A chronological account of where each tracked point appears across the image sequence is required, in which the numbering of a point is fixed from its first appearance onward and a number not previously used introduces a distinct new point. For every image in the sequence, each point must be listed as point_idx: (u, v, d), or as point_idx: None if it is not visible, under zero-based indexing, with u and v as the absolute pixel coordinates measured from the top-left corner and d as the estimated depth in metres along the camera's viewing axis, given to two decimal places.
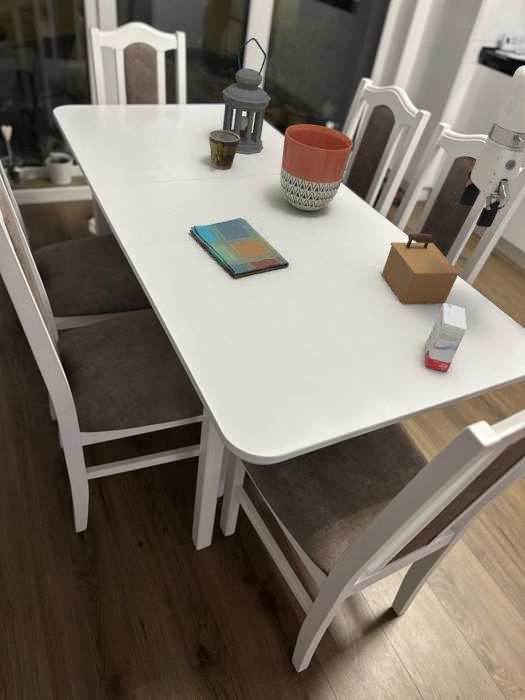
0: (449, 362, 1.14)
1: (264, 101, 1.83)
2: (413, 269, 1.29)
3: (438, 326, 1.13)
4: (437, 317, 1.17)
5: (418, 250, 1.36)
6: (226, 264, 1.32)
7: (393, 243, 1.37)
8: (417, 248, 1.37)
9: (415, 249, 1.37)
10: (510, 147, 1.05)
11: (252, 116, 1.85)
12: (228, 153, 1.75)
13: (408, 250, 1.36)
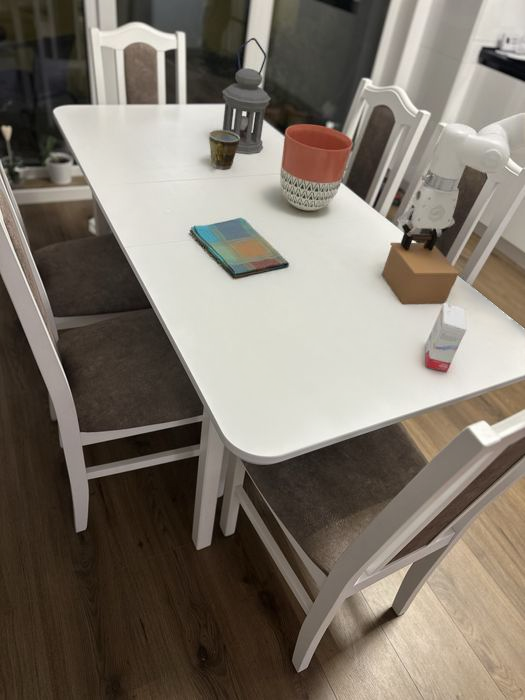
0: (449, 362, 1.14)
1: (264, 101, 1.83)
2: (413, 269, 1.29)
3: (438, 326, 1.13)
4: (437, 317, 1.17)
5: (418, 250, 1.36)
6: (226, 264, 1.32)
7: (393, 243, 1.37)
8: (417, 248, 1.37)
9: (415, 249, 1.37)
10: (425, 181, 1.26)
11: (252, 116, 1.85)
12: (228, 153, 1.75)
13: (408, 250, 1.36)
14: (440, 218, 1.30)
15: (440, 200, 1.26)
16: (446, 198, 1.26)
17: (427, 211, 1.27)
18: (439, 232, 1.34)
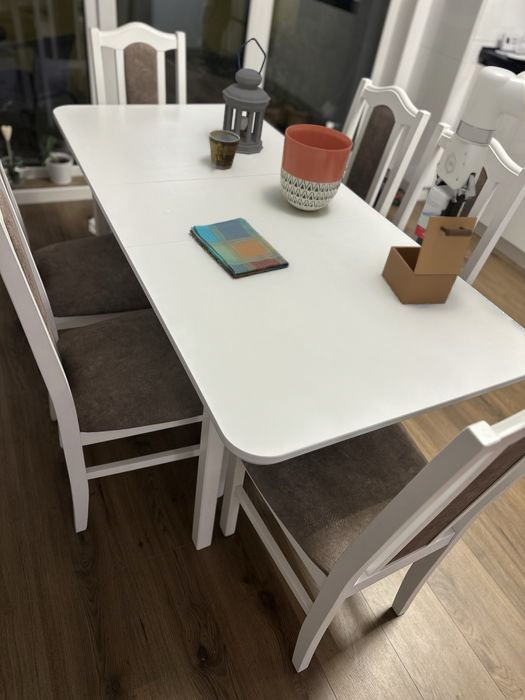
0: None
1: (264, 101, 1.83)
2: (417, 268, 1.27)
3: None
4: None
5: None
6: (226, 264, 1.32)
7: (431, 219, 1.21)
8: None
9: None
10: None
11: (252, 116, 1.85)
12: (228, 153, 1.75)
13: (437, 234, 1.23)
14: (451, 171, 1.18)
15: (455, 148, 1.16)
16: (459, 147, 1.15)
17: (445, 156, 1.20)
18: (454, 197, 1.19)
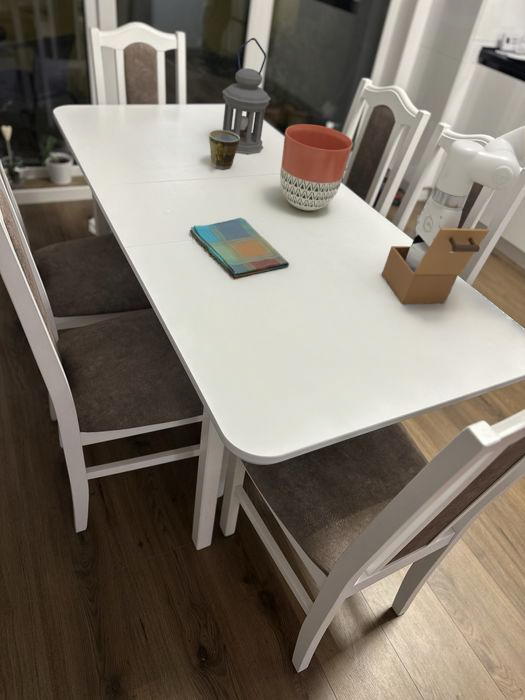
0: None
1: (264, 101, 1.83)
2: (418, 270, 1.27)
3: None
4: None
5: (456, 243, 1.21)
6: (226, 264, 1.32)
7: (442, 231, 1.17)
8: (459, 240, 1.21)
9: (456, 241, 1.21)
10: None
11: (252, 116, 1.85)
12: (228, 153, 1.75)
13: (445, 243, 1.21)
14: (429, 231, 1.27)
15: (432, 210, 1.26)
16: (435, 210, 1.24)
17: (423, 217, 1.29)
18: None
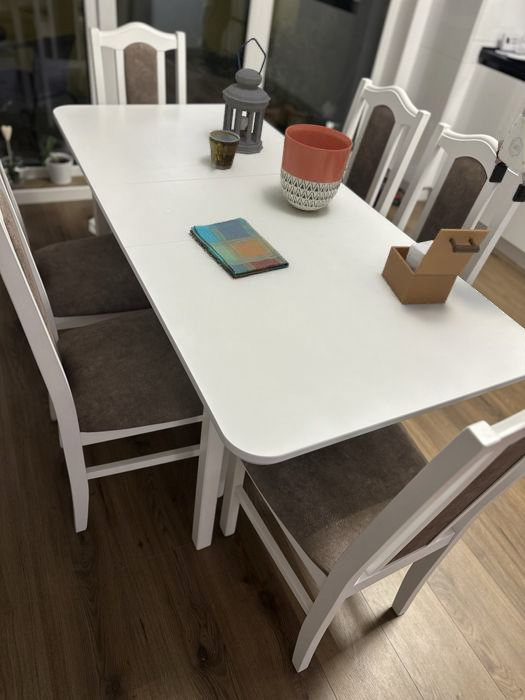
0: None
1: (264, 101, 1.83)
2: (418, 270, 1.27)
3: None
4: None
5: (456, 244, 1.21)
6: (226, 264, 1.32)
7: (442, 232, 1.17)
8: (460, 240, 1.21)
9: (456, 241, 1.21)
10: None
11: (252, 116, 1.85)
12: (228, 153, 1.75)
13: (445, 244, 1.21)
14: (517, 155, 1.16)
15: (521, 131, 1.15)
16: None
17: (509, 140, 1.18)
18: (524, 180, 1.16)
